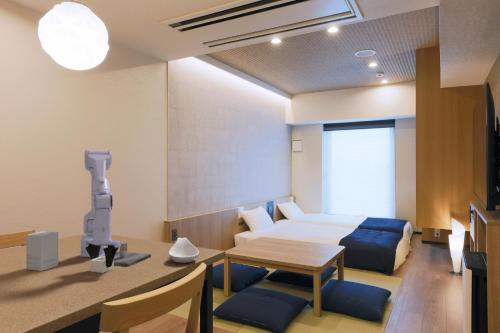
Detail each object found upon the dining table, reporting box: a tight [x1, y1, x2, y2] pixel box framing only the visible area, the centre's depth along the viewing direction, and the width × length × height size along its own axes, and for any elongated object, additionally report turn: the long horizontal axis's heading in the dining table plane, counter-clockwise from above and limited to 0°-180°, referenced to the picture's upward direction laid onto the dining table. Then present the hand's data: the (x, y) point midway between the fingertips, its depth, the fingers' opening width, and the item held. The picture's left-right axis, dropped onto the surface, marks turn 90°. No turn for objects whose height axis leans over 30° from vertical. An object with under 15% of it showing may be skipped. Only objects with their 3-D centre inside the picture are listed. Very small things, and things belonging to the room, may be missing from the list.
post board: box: [104, 242, 152, 267], centre depth 132 cm, size 16×14×6 cm
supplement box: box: [25, 230, 59, 272], centre depth 121 cm, size 7×7×13 cm
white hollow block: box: [89, 256, 115, 274], centre depth 118 cm, size 5×5×4 cm
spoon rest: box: [168, 237, 200, 264], centre depth 136 cm, size 24×12×7 cm, turn 17°
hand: (102, 266), depth 118 cm, fingers closed on white hollow block, 5 cm apart
